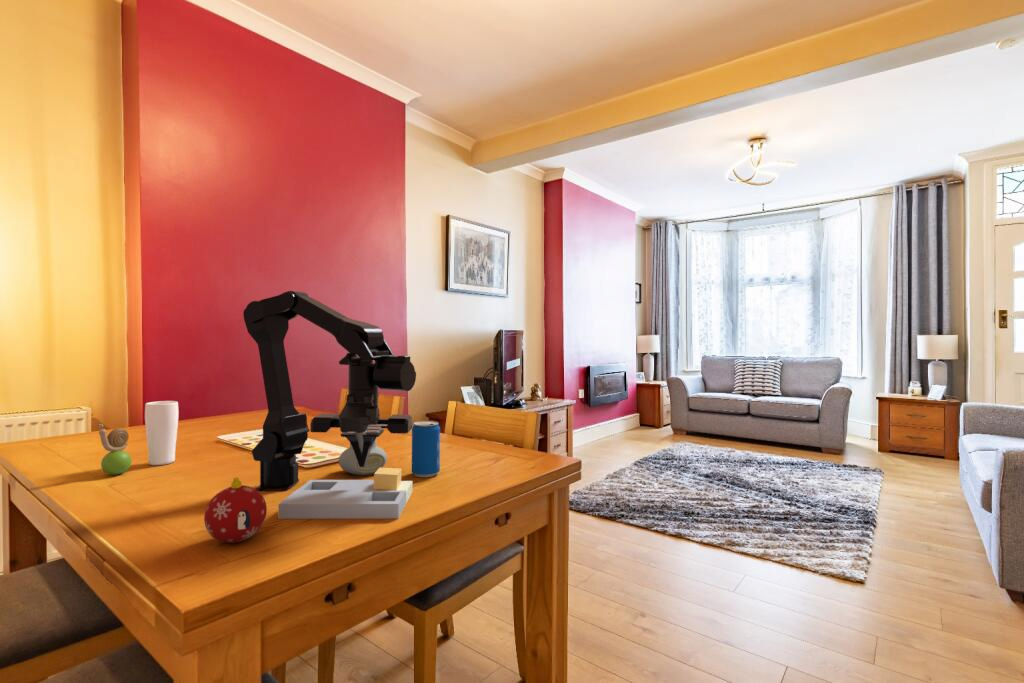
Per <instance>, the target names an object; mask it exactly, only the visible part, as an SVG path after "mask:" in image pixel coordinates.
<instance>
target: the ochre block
mask: <svg viewBox="0 0 1024 683" xmlns="http://www.w3.org/2000/svg"><path fill="white" fill-rule="evenodd" d="M402 471H403V469H402V468H397V467H396V468H395V467H380V468H379V469H378V470H377V471H376V472H374V473H373V480H374V487H373V489H384V490H397V489H398V487H399V485H400V484H401V481H402V473H403V472H402Z"/></svg>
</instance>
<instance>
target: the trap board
mask: <svg viewBox="0 0 1024 683" xmlns="http://www.w3.org/2000/svg"><path fill="white" fill-rule="evenodd" d="M413 486H414V485H413V480H401V484H400V485H399V487H398V489H397V490H384V489H373V487H374V479H309V480H308V481H307V482H306V483H304V484H303V485H302V486H300V487H299V488H298V489H297V490H294V491H293V492H292V493H290V494H289V495H288V496H287V497H285V498H284V499H282V500H281V501H280V502H279V503H278V519H279V520H280V519H281V520H282V519H283V520H284V519H285V520H286V519H293V520H294V519H302V520H303V519H306V520H307V519H308V520H309V519H322V520H323V519H327V520H329V519H331V520H332V519H349V520H350V519H360V520H361V519H365V520H366V519H375V520H376V519H388V520H389V519H400V517H401V514H402V512H403V510H405V506H406V505H407V503H408V501H409V499H410V497H411V495H412V493H413Z"/></svg>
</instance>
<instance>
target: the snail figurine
mask: <svg viewBox="0 0 1024 683" xmlns="http://www.w3.org/2000/svg"><path fill="white" fill-rule="evenodd" d="M97 426H98V428H99V431H98V435H99V437H100V442H101V445H102V447H103V449H104V450H106V451H108V453H106V454H105V455H104V456H103V458H102V459H101V463H100V466H101V469H102V470H103V472H104V473H106V474H108V475H111V476H112V475H113V476H114V475H120V474H123V473H125V472H127V470H129V469H130V467H131V465H132V460H133V459H132V457H131V454H130V453H128V452H127V451H125V450H124V449H126V447H127V446H128V445H129V444H128V440H129V432H128V430H126V429H125V428H122V427H121V428H120V427H119V428H114V429H113V430H111V431H110V432H109V433H108V435H107V432H108V431H107V430H106V428H103V427H104V424H101V423H99V424H98V425H97ZM100 427H101V428H100Z"/></svg>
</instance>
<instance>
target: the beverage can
mask: <svg viewBox="0 0 1024 683" xmlns="http://www.w3.org/2000/svg"><path fill="white" fill-rule="evenodd" d="M440 469H441V427H440V425H439V422H438V421H434V420H420V421H416V422H414V423H413V425H412V429H411V473H412V474H414V476H415V477H417V478H432V477H435V476H436V475H437V474H438V473H439V472H440V471H441V470H440Z"/></svg>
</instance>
